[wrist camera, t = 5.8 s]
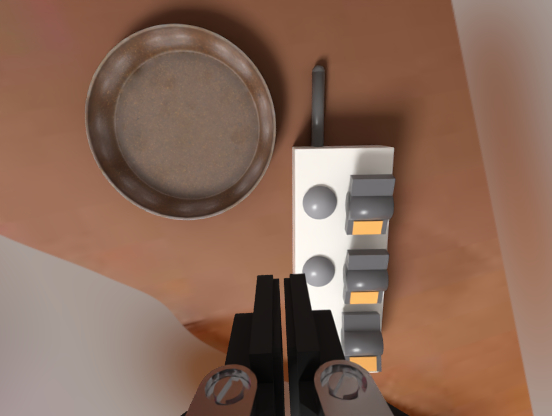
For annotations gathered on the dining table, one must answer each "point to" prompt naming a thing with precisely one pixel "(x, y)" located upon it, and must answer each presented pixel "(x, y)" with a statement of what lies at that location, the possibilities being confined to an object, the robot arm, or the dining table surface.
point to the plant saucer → (180, 121)
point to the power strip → (330, 210)
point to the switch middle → (365, 276)
